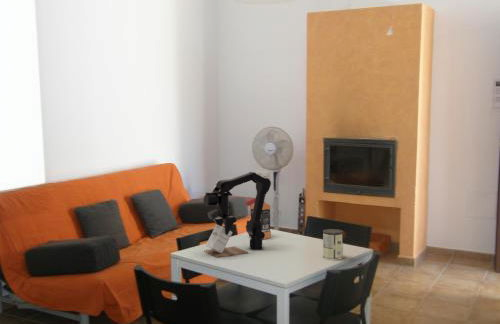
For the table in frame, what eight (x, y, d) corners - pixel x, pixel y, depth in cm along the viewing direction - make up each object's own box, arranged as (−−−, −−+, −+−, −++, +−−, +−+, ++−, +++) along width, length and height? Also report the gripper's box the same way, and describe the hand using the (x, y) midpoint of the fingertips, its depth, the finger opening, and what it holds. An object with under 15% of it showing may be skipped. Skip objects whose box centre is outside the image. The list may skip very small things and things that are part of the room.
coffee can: (327, 254, 288) (327, 228, 287) (345, 256, 283) (346, 230, 282) (319, 258, 279) (319, 231, 278) (338, 261, 274) (338, 233, 273)
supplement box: (205, 245, 287) (216, 223, 290) (215, 250, 291) (226, 229, 294) (211, 247, 281) (222, 226, 284) (222, 253, 285) (233, 232, 287)
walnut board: (234, 247, 302) (234, 246, 301) (248, 253, 289) (248, 252, 289) (204, 251, 292) (204, 250, 292) (216, 257, 279) (216, 256, 279)
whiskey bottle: (261, 235, 334) (261, 183, 332) (272, 237, 326) (272, 185, 324) (248, 237, 327) (248, 184, 325) (259, 240, 320) (259, 186, 317)
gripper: (201, 203, 291) (201, 231, 292) (217, 208, 275) (217, 238, 276) (220, 201, 297) (220, 229, 298) (236, 206, 281) (236, 236, 282)
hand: (223, 233), depth 288 cm, fingers open, 8 cm apart
